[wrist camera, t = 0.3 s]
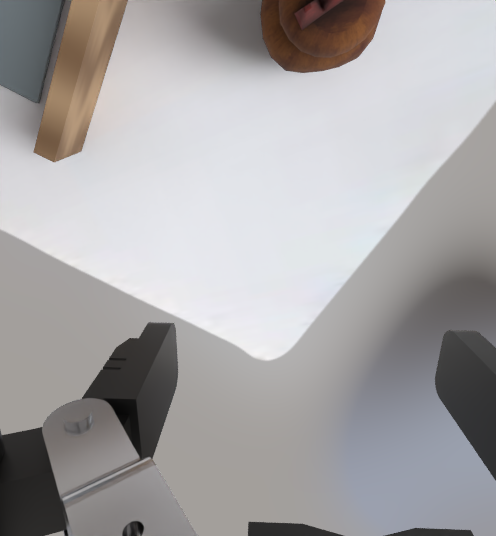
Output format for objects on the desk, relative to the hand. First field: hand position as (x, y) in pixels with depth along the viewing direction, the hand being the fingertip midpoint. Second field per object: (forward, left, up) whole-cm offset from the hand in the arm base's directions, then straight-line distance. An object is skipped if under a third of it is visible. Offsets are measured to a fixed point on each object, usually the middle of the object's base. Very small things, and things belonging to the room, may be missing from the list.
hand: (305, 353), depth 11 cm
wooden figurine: (-10, -3, -23) cm, 25 cm away
